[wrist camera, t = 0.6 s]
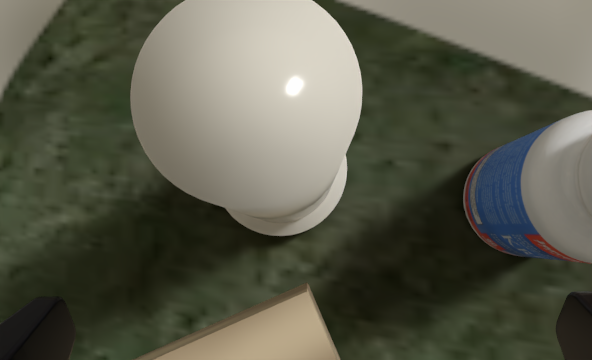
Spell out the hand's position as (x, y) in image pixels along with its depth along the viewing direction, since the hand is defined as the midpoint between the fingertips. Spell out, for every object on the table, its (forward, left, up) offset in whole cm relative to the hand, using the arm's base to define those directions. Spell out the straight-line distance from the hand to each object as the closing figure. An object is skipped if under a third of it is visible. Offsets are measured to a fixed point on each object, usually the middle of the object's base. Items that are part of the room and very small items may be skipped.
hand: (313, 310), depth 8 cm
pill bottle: (-1, -10, -15) cm, 18 cm away
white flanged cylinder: (+5, 0, -14) cm, 15 cm away
